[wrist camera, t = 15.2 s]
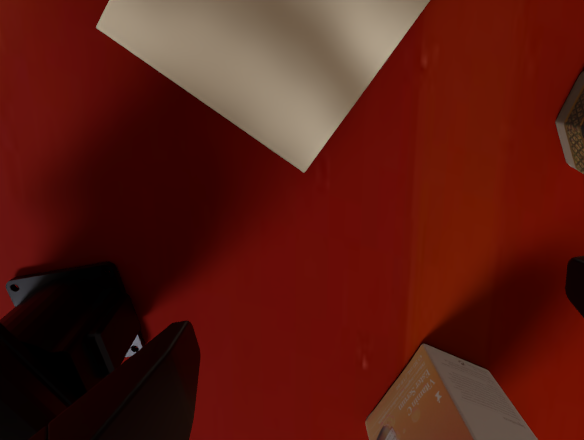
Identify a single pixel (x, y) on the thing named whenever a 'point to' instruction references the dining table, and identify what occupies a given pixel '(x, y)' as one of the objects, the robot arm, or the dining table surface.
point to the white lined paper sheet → (267, 58)
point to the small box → (445, 403)
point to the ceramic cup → (573, 126)
